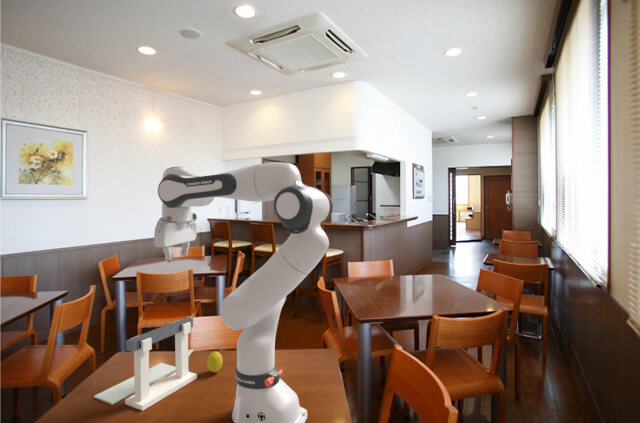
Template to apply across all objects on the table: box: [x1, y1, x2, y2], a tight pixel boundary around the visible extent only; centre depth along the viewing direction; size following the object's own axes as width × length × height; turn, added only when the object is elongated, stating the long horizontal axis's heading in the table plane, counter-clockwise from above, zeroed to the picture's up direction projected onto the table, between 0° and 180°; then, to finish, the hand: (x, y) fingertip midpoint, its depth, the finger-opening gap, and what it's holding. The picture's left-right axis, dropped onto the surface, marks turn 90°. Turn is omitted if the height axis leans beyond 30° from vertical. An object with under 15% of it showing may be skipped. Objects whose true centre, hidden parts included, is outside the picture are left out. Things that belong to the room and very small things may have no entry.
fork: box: [188, 348, 194, 358], centre depth 143 cm, size 3×21×3 cm, turn 9°
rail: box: [125, 316, 194, 353], centre depth 119 cm, size 3×24×3 cm, turn 154°
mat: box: [93, 362, 176, 405], centre depth 125 cm, size 9×26×1 cm, turn 154°
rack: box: [124, 320, 198, 411], centre depth 119 cm, size 8×22×20 cm, turn 154°
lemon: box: [206, 350, 224, 373], centre depth 132 cm, size 6×6×8 cm
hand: (176, 257), depth 119 cm, fingers open, 8 cm apart
